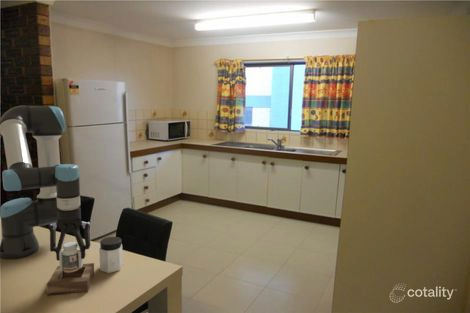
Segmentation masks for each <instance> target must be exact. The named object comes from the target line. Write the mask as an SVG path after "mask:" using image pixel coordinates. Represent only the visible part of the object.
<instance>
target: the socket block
mask: <svg viewBox="0 0 470 313" xmlns="http://www.w3.org/2000/svg"><path fill="white" fill-rule="evenodd" d="M94 275H95V263H94V262H93V263H92V262H91V263H83V265H82V268H79V269H78V270H77V271H75V272H71V273H67V272H64V271H63V269H62V270H60V265H57V266H56V267H55V270H54V272H52V274H51V276H50V278H49V280H48V281H47V283H46V289H47V290H46V291H47V297H49V296H50V297H51V296H52V297H53V296H57V295H58V296H61V295H69V294H71V293H73V294H82V292H84V293H88V291H89V289H90V287H91V285H92V280H93V278H94ZM71 295H72V294H71Z"/></svg>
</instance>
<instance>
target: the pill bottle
mask: <svg viewBox="0 0 470 313" xmlns="http://www.w3.org/2000/svg"><path fill="white" fill-rule="evenodd" d="M78 247H79V245H78V243H77V241H68V242H66V243H65V242H64V244H62V250H63V252H62V260H63V271H64V272H67V273H71V272H75V271H77V270H78V269H79V255H78V252H79V250H80V248H78Z"/></svg>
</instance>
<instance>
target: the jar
mask: <svg viewBox="0 0 470 313" xmlns="http://www.w3.org/2000/svg"><path fill="white" fill-rule="evenodd" d="M99 245H100V246H99V250H98V252H99V270H100V271H101V272H103V273H107V274H110V273H113V272H114V273H115V272H118V271H120V270H121V268H122V267H123V265H124V264H123V261H124V260H123V259H124V258H123V244H122V238H121V237H119V236H108V237H104V238H101V240H100V241H99Z"/></svg>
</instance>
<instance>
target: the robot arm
mask: <svg viewBox="0 0 470 313" xmlns="http://www.w3.org/2000/svg"><path fill="white" fill-rule="evenodd" d="M64 132H66V120H65V116H64V113H63V111H62V109H61V108H60V107H58V106H53V105H18V106H16V105H15V106H13V107H11V108H9V109H8V110H7V111H5V112H4V113H3V114H2V116H1V117H0V135H1V137H2V139H3V145H4V146H3V147H4V153H5V159H6V160H5V161H6V165H7V169H4V170H3V171H1V172H2V186H3V190H4V191H6V192H15V191H25V190H33V189H39V190H40V191H39V194H37V195H36V200H32V198H30V197H20V198H15V199H11V200H9V201H6V202H5V203H3V204H2V205H1V206H0V224H1V240H0V258H1V259H6V260H12V259H13V260H15V259H21V258H25V257H28V256H30V255H33V254H34V253H36V252H38V251H39V248H40V243H39V240H38V238H37V236H36V234H35V231H34V228H35V227H36V228H37V227H41V226H42V227H43V226H47V225H48V230H49V250H50V252H52V253H53V252H54V253H55V254H56V255H55V256H56V261H59V266H60V270H62V269H63V260H62V252H63V250H64V249H63V245H64V244H63V243H64V240H65V237H66V234H68V233H69V234H70V233H71V234H72V233H73V236H74V237H75V240H76V242H77V244H78V247H79V248H78V249H79V252H78V255H79V268H82V265H83V264H84V261H83V260H84V259H85V258H86V250H90V247H91V236H90V235H91V234H90V226H91V222H90V221H87V222H86V221H83V219H82V215H81V214H82V212H81V210H82V209H81V191H80V188H81V187H80V183H81V182H80V175H81V173H80V169H79V168H80V167H79V166H78V165H77V164H73V163H63V164H62V163H61V159H60V143H59V140H60V138H61V137H63V136H62V135H63V133H64ZM26 133H31V134H32V137H33V138H34V139H35V140H36V146H37V147H36V148H37V161H38V162H37V163H38V167H33V164H32V158H31V154H30V150H29V145H28V141H27V136H26ZM81 226H82V228H83V233H84V234H83V235H84V240H83V237H82V234H81V233H80V227H81ZM57 228H59V230H60V231H61V232H60V234H59V238H58V242H57V238H56V236H57V235H56V234H57V230H56V229H57ZM56 242H57V244H56Z"/></svg>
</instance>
